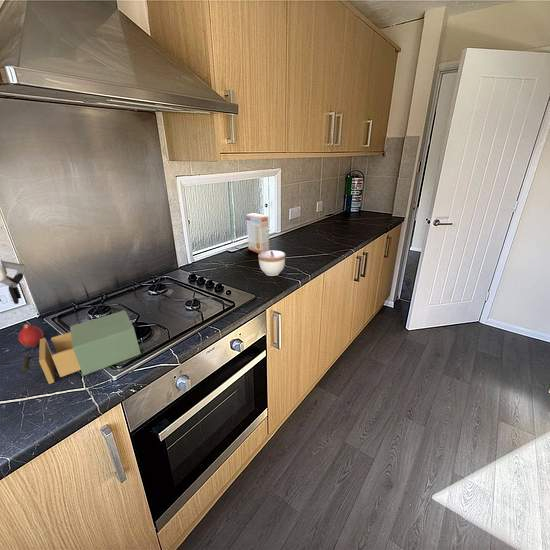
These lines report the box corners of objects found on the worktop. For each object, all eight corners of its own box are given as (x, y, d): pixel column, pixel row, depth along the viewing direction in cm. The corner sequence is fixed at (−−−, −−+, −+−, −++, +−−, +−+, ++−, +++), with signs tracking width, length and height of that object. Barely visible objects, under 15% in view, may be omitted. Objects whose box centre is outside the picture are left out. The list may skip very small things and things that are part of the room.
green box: (83, 376, 78) (72, 348, 74) (79, 352, 87) (69, 326, 84) (140, 354, 85) (134, 327, 82) (131, 334, 95) (125, 310, 91)
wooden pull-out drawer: (27, 392, 72) (16, 368, 69) (29, 367, 80) (19, 345, 77) (108, 362, 81) (101, 340, 78) (102, 342, 90) (95, 322, 87)
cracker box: (270, 253, 165) (268, 216, 157) (261, 255, 162) (259, 217, 154) (256, 247, 176) (254, 212, 167) (248, 249, 172) (245, 213, 164)
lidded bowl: (276, 280, 131) (275, 257, 126) (253, 274, 137) (252, 252, 133) (290, 270, 140) (290, 248, 136) (268, 266, 147) (267, 245, 142)
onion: (29, 342, 93) (19, 320, 89) (50, 339, 94) (41, 317, 91) (19, 353, 87) (9, 331, 84) (41, 350, 89) (32, 327, 86)
